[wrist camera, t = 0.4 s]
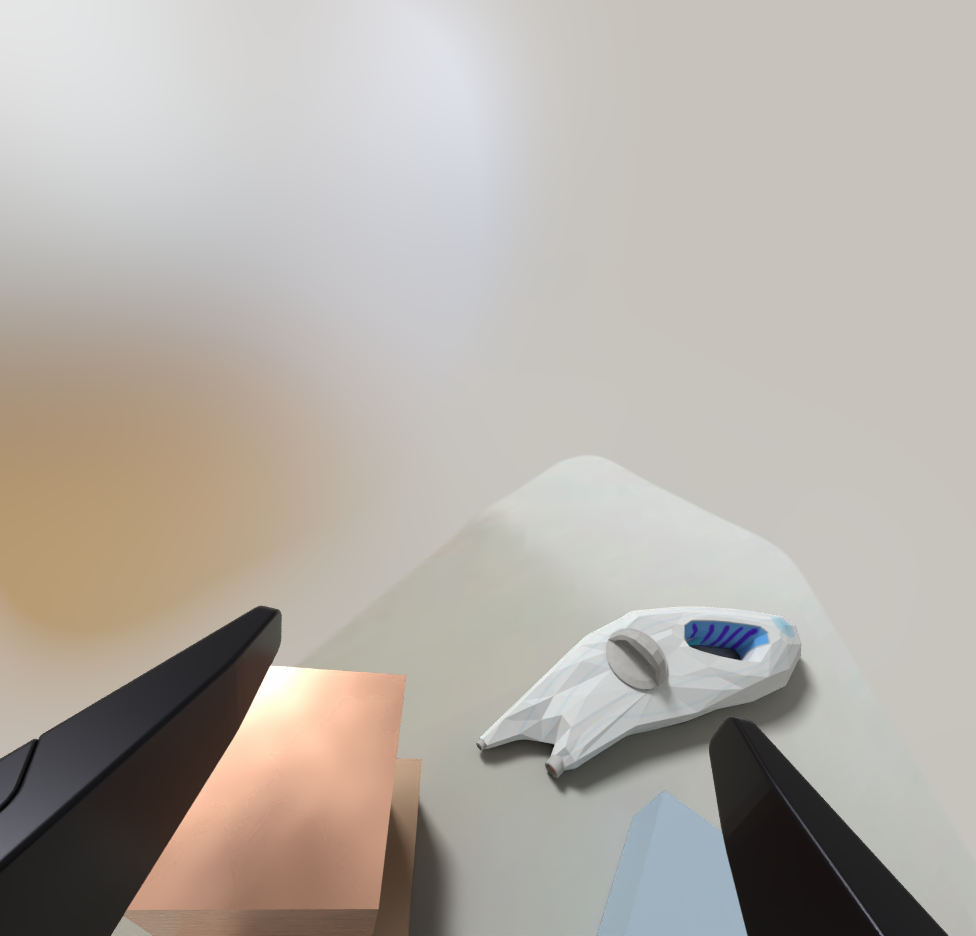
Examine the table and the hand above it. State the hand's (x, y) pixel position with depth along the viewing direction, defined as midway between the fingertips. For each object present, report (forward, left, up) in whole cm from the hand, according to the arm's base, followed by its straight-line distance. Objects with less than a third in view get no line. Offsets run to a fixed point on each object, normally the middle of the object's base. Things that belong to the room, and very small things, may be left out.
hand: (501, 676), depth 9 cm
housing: (-1, +4, -12) cm, 13 cm away
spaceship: (+11, -12, -17) cm, 23 cm away
